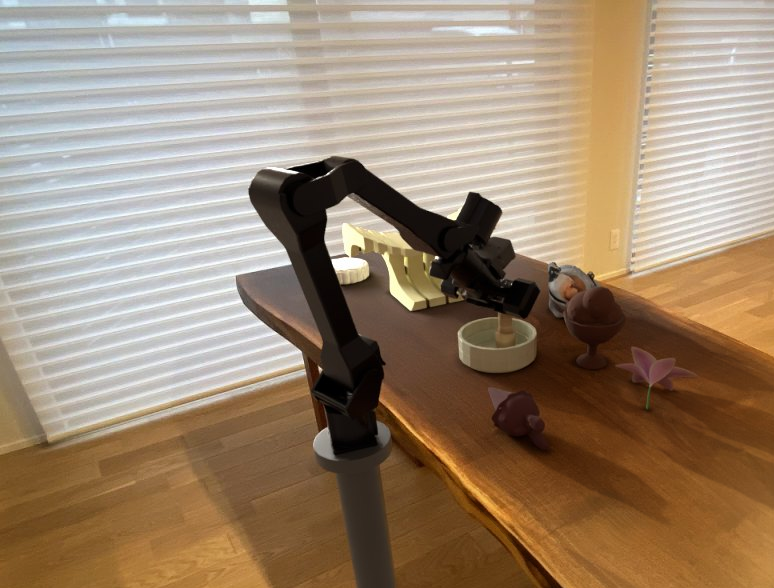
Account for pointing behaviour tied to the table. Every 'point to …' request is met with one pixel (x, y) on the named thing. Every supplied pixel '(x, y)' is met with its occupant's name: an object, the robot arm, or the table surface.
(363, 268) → the mooncake
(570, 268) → the grey pot with food
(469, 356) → the bowl
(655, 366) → the lily
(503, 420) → the icecream
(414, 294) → the slatted curved stool
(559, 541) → the table surface
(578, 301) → the ice cream bowl
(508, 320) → the cylinder
